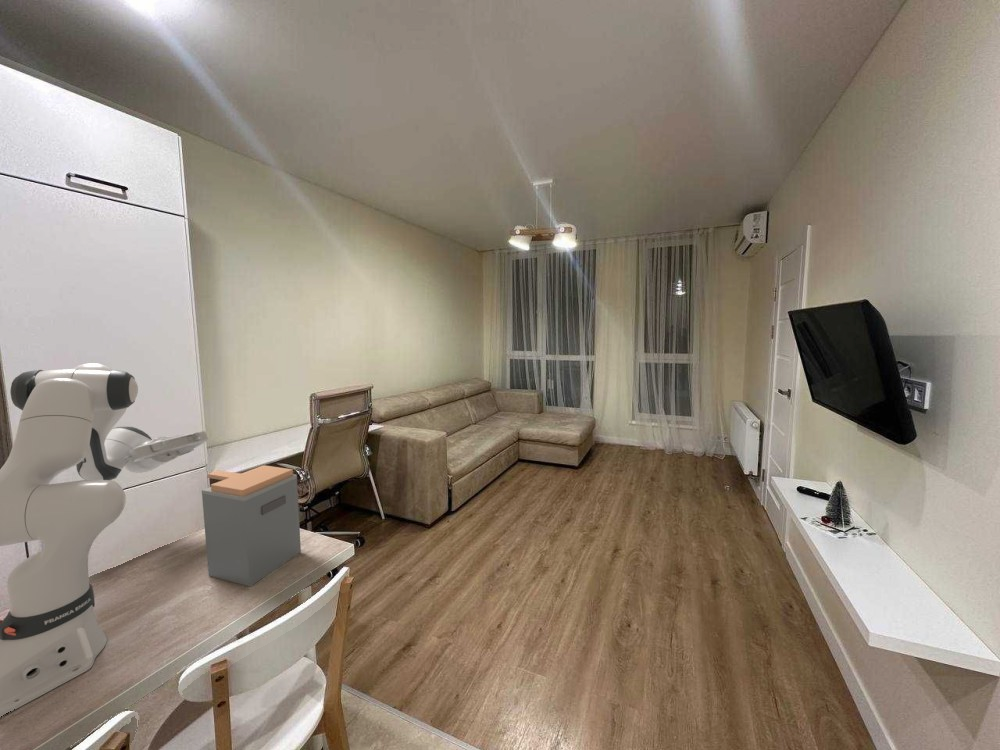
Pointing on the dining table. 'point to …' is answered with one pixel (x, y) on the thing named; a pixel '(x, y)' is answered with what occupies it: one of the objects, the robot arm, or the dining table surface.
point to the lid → (247, 479)
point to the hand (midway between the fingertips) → (183, 438)
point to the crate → (251, 531)
